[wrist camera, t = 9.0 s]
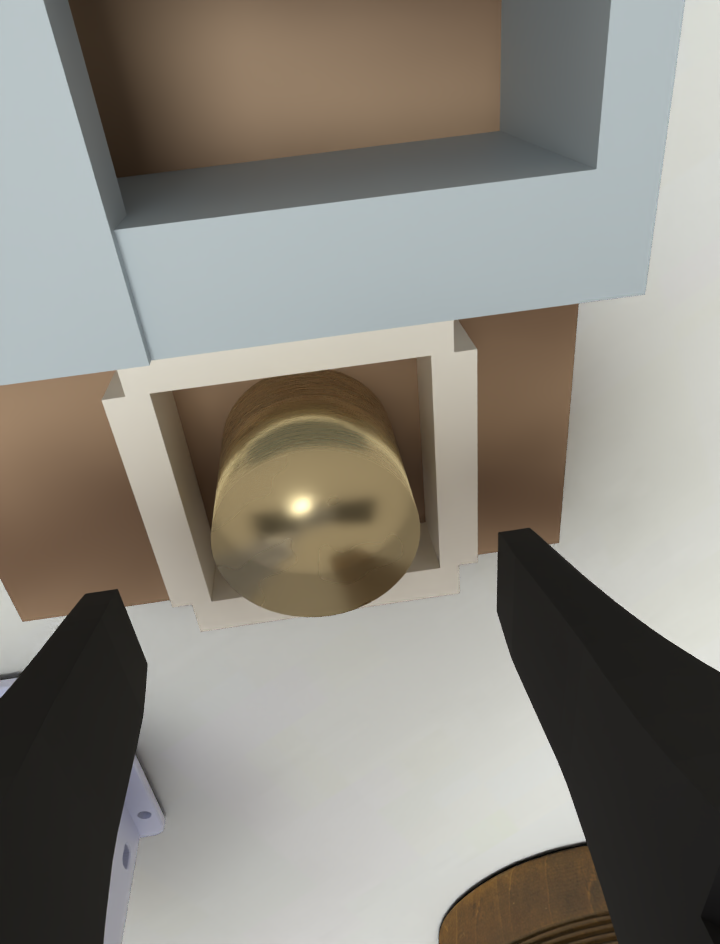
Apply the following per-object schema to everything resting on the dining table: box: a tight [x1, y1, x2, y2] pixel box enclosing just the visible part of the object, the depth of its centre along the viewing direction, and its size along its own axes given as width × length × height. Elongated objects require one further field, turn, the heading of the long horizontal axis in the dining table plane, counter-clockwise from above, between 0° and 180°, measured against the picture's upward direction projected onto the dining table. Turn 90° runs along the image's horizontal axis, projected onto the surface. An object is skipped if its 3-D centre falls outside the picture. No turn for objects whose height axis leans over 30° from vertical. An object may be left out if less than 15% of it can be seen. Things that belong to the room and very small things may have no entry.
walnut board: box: [0, 0, 579, 622], centre depth 16 cm, size 18×16×1 cm
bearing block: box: [0, 0, 685, 386], centre depth 11 cm, size 7×11×5 cm, turn 95°
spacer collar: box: [102, 320, 478, 632], centre depth 17 cm, size 8×8×2 cm
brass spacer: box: [211, 369, 420, 617], centre depth 16 cm, size 4×4×4 cm
